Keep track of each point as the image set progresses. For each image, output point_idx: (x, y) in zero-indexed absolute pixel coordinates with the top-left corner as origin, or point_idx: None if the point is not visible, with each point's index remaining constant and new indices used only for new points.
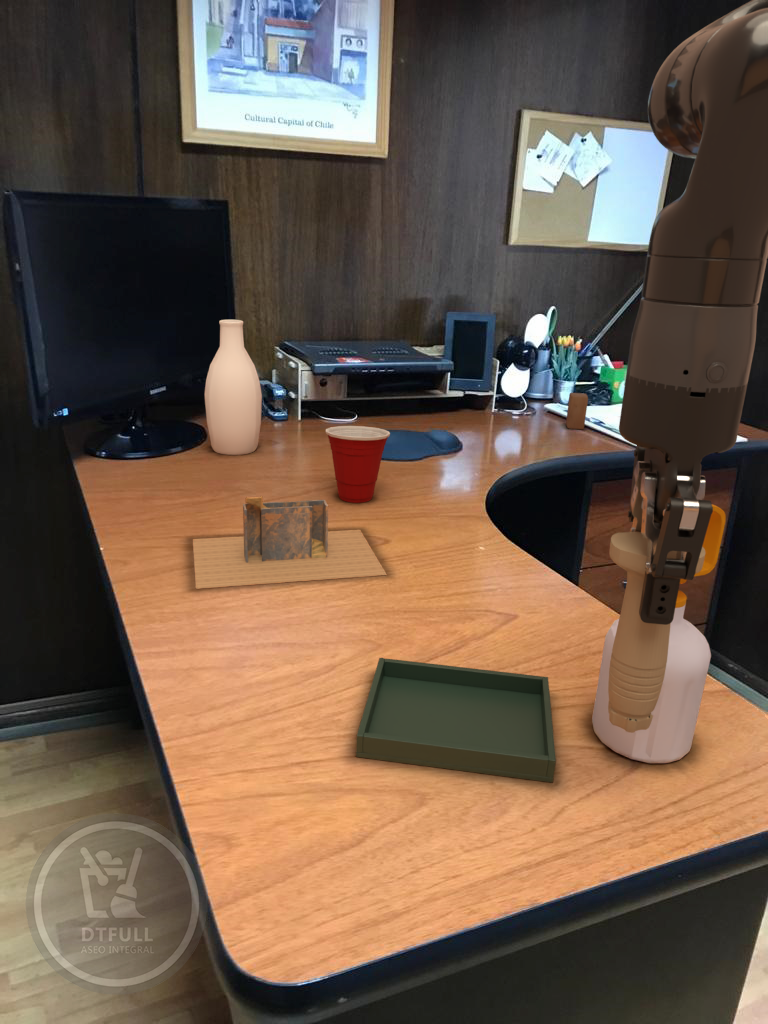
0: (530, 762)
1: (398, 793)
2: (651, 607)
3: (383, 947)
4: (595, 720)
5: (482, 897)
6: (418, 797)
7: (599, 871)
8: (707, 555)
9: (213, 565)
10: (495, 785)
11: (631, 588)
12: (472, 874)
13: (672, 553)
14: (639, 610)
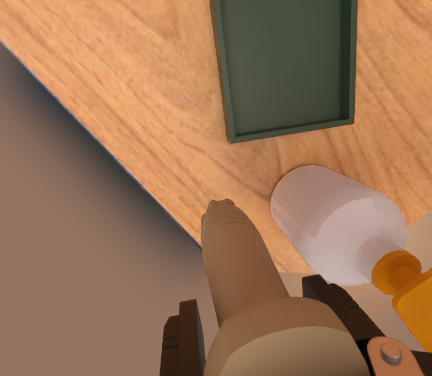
0: (227, 122)
1: (169, 9)
2: (163, 338)
3: (10, 41)
4: (302, 169)
5: (89, 105)
6: (171, 30)
7: (148, 179)
8: None
9: None
10: (209, 95)
11: (237, 302)
12: (107, 93)
13: None
14: (193, 304)
